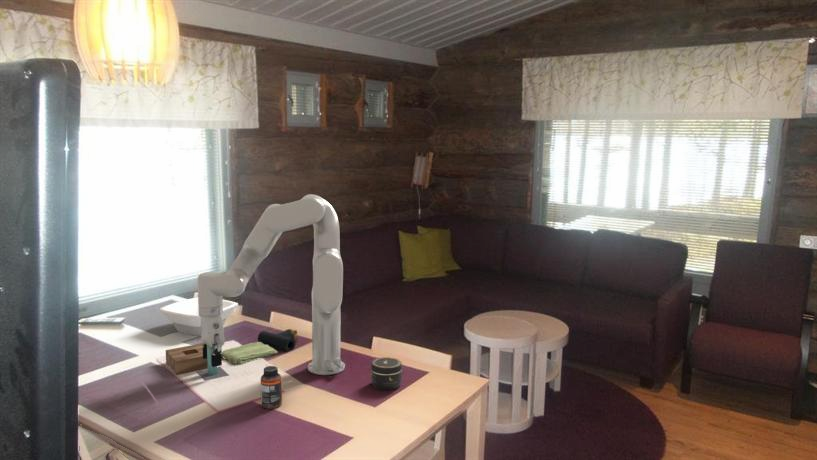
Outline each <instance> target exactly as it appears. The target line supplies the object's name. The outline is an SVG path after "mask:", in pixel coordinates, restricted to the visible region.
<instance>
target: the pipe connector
mask: <svg viewBox="0 0 817 460" xmlns="http://www.w3.org/2000/svg"><path fill="white" fill-rule="evenodd" d="M297 335H298V331H297V330H296V329H294V330H293V329H291V328H289V329H286V330H283V331H282V332H279V333H273V332H269V331H265V330H263V331H261V332H259V333H258V334H257V342H262V343H263V344H264V345H268V346H270V347H271V348H273V349H279V350H281V351H284V352H285V351H286V352H291V351H294V349H295V347H296V342H297V341H298V337H297Z"/></svg>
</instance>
